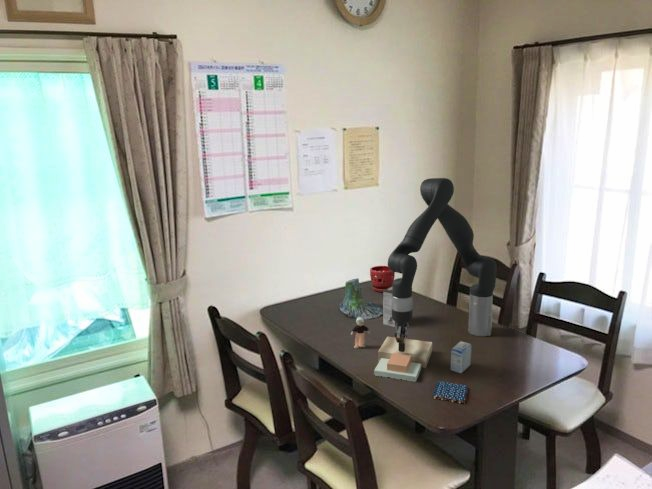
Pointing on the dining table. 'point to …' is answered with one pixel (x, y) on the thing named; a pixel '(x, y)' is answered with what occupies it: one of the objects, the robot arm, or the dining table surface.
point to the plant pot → (381, 278)
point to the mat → (409, 376)
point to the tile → (399, 362)
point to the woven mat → (450, 392)
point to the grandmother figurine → (360, 333)
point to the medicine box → (460, 357)
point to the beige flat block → (407, 350)
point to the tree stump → (358, 303)
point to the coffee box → (388, 307)
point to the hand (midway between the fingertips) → (401, 350)
